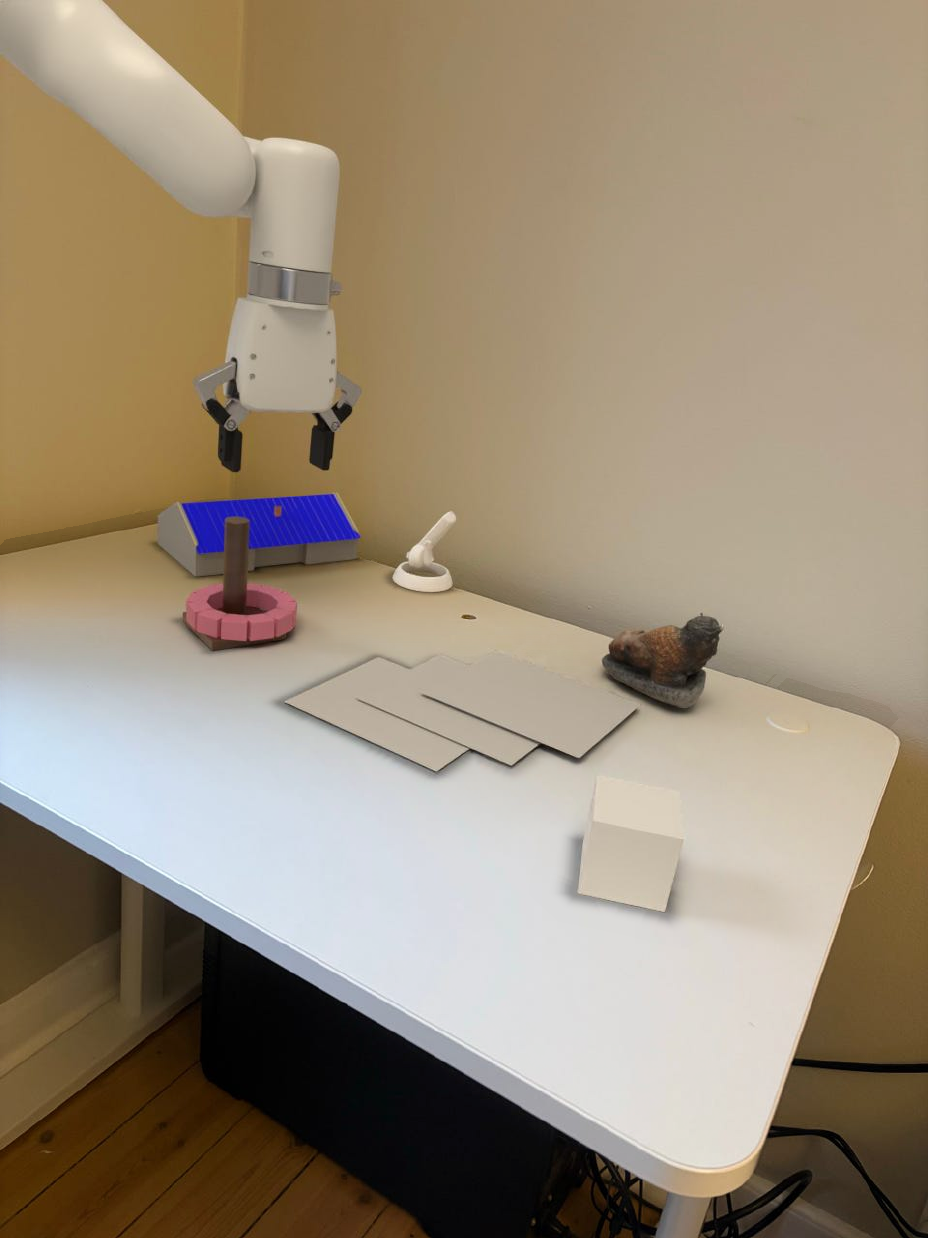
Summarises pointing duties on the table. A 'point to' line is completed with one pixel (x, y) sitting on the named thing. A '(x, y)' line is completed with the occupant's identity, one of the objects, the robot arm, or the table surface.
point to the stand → (234, 582)
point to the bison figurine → (665, 659)
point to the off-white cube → (631, 843)
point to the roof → (260, 531)
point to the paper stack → (466, 708)
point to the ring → (242, 626)
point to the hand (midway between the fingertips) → (276, 467)
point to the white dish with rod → (426, 561)
